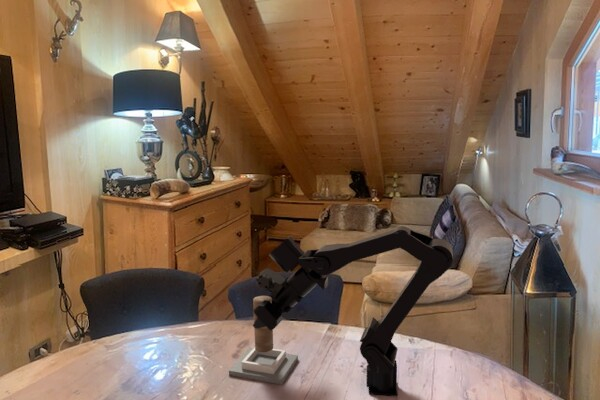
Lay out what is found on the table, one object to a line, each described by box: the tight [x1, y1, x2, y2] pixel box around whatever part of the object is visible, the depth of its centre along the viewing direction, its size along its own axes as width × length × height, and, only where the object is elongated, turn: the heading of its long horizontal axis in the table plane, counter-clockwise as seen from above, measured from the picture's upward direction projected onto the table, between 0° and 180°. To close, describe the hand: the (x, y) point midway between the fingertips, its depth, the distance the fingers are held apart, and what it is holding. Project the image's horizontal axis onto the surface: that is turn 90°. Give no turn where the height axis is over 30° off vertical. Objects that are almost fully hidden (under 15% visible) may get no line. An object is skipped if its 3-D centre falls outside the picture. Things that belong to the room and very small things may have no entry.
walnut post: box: [252, 295, 274, 352], centre depth 113 cm, size 5×5×13 cm
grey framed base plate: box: [228, 346, 299, 385], centre depth 114 cm, size 14×12×3 cm
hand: (258, 322), depth 113 cm, fingers closed on walnut post, 5 cm apart
